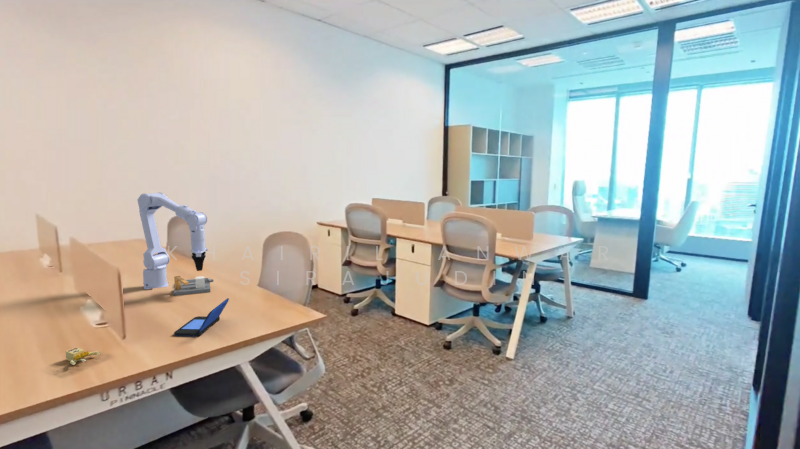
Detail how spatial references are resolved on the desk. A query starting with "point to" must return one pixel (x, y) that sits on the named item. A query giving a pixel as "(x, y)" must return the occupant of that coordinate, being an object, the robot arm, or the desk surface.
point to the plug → (202, 282)
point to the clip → (179, 282)
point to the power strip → (191, 290)
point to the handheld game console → (201, 322)
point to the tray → (193, 282)
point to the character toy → (78, 355)
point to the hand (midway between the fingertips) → (199, 269)
